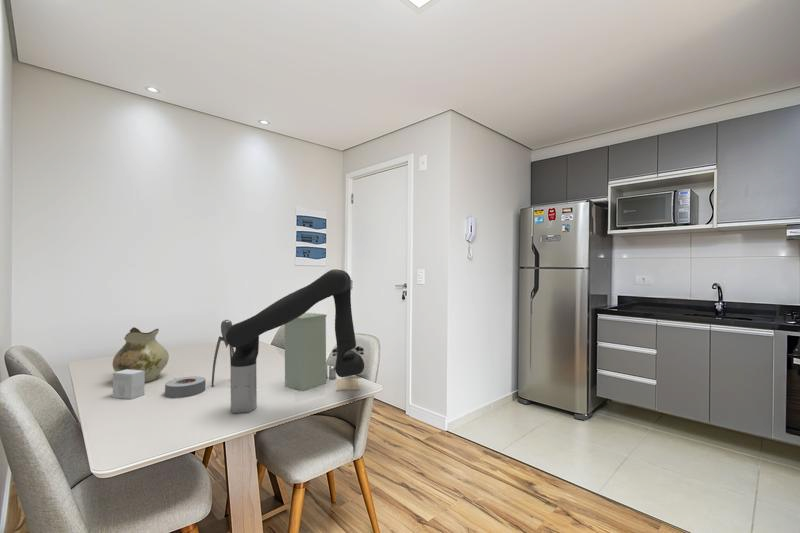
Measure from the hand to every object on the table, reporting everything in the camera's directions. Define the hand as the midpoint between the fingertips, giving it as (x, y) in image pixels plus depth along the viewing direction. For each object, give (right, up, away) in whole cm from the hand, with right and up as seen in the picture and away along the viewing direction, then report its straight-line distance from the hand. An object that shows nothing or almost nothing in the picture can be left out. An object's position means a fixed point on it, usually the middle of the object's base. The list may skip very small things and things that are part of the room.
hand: (347, 347), depth 172 cm
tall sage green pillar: (-20, -17, +2) cm, 26 cm away
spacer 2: (-9, -17, +11) cm, 22 cm away
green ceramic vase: (-102, -18, +11) cm, 104 cm away
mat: (0, -17, +1) cm, 17 cm away
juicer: (-55, -18, +2) cm, 58 cm away
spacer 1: (-13, -17, +12) cm, 25 cm away
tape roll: (-70, -18, -8) cm, 72 cm away
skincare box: (-91, -18, -12) cm, 94 cm away
